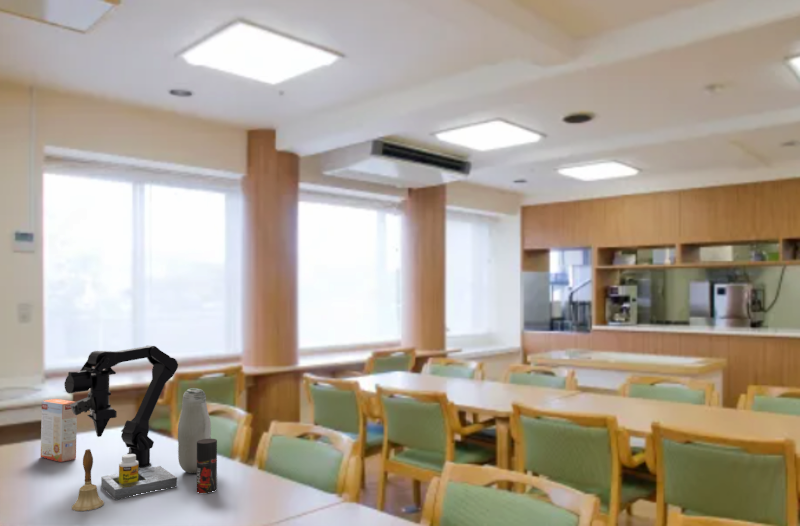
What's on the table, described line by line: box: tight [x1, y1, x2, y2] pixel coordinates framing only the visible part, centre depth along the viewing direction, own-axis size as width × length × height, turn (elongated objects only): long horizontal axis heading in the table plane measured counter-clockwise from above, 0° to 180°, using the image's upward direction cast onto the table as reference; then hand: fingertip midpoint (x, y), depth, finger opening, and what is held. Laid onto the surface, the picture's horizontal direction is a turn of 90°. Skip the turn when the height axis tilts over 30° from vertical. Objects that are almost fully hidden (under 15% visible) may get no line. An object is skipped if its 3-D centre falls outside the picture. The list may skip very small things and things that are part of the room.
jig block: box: [100, 465, 178, 501], centre depth 192 cm, size 18×16×3 cm
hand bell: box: [71, 448, 105, 512], centre depth 176 cm, size 8×8×16 cm
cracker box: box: [40, 398, 78, 463], centre depth 225 cm, size 14×6×21 cm, turn 58°
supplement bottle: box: [118, 453, 139, 485], centre depth 190 cm, size 6×6×10 cm
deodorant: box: [196, 438, 218, 494], centre depth 189 cm, size 6×6×15 cm
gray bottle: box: [177, 387, 212, 474], centre depth 208 cm, size 10×10×28 cm
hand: (99, 436), depth 204 cm, fingers closed
